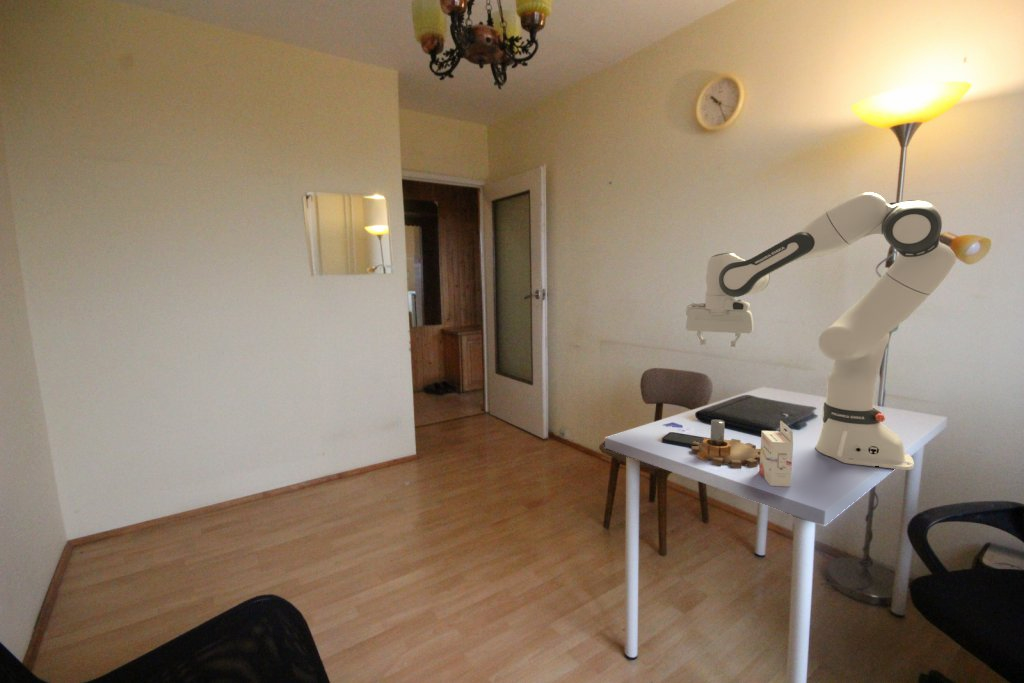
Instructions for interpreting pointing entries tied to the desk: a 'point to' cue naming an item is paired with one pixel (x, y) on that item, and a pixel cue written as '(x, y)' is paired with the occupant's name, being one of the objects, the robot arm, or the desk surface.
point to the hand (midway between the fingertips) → (717, 345)
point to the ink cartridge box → (776, 456)
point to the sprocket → (728, 453)
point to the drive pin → (717, 433)
